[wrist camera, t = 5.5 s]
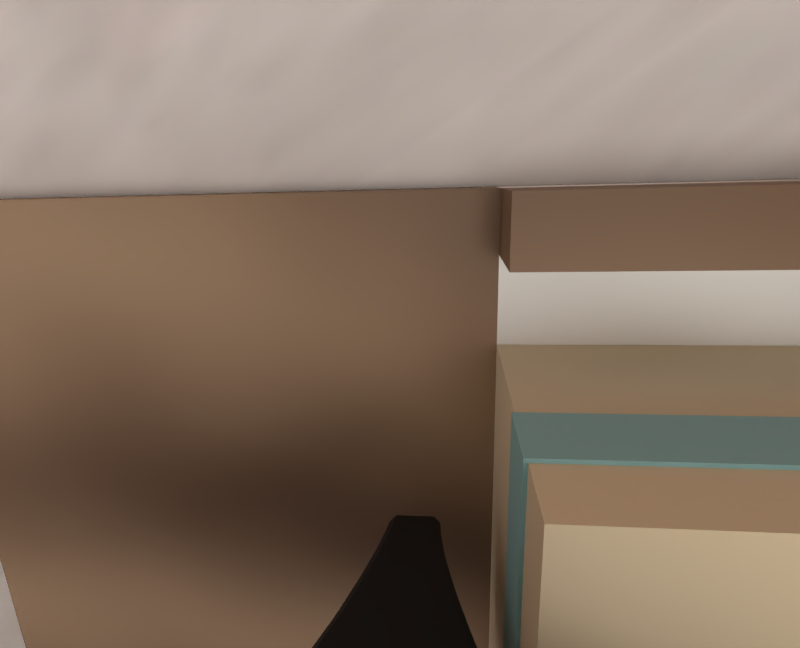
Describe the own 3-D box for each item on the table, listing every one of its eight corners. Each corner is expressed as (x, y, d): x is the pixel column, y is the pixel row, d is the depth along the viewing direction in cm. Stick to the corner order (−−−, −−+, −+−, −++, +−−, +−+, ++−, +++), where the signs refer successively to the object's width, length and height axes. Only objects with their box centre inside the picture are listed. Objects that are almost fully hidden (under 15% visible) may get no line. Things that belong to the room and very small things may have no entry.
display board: (856, 751, 11) (1030, 998, 8) (80, 691, 13) (-51, 871, 10) (1027, 173, 8) (1455, 171, 5) (-47, 199, 10) (-312, 213, 6)
